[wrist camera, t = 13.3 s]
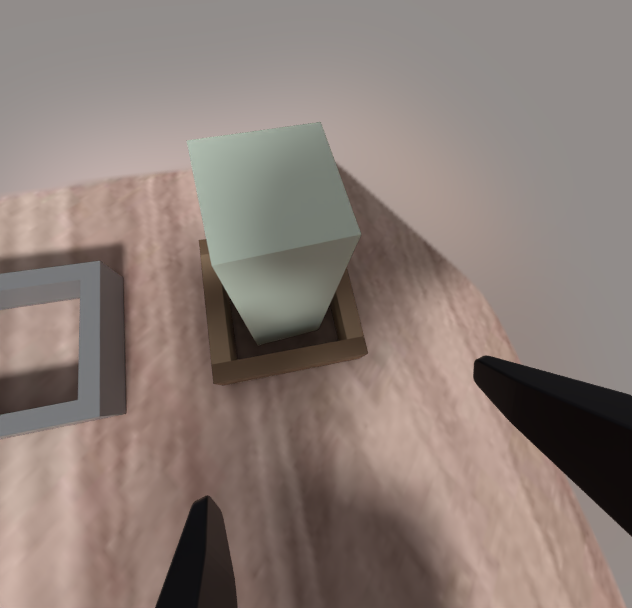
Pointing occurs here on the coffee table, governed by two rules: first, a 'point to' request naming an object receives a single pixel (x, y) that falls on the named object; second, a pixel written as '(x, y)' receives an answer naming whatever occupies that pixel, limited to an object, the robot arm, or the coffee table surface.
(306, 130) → the peg
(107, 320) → the socket
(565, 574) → the coffee table surface
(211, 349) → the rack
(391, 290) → the coffee table surface
